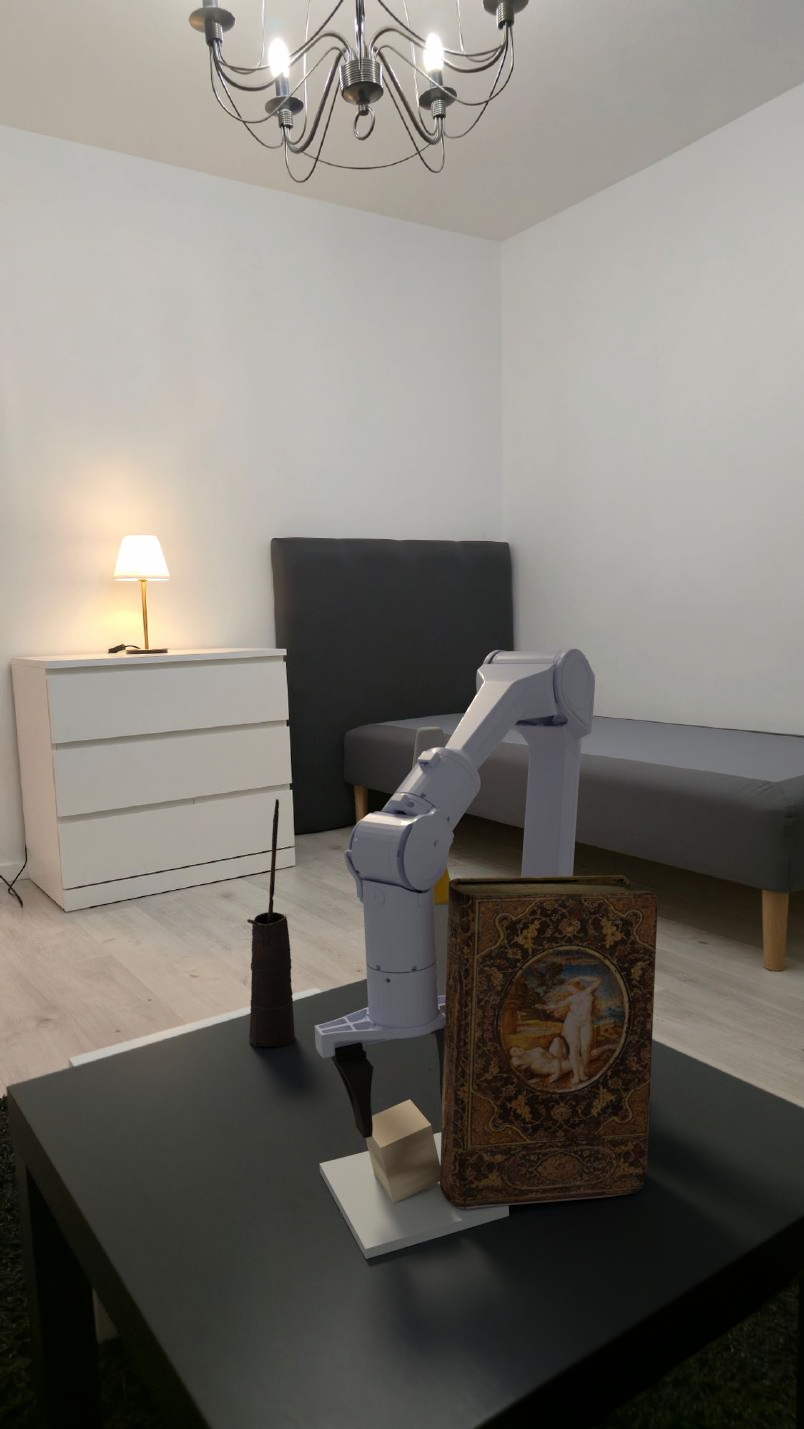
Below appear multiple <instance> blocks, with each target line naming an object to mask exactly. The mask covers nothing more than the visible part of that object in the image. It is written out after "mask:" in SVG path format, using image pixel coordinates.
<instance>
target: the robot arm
mask: <svg viewBox="0 0 804 1429" xmlns="http://www.w3.org/2000/svg"><path fill="white" fill-rule="evenodd" d="M475 679H476V680H475V683H476V693H475V696H474V698H473V700H472V701H471V703H470V705H469V706H468V707H467V710H466V711H465V713H464V715H463V716H462V718H461V719H460V721H459V723H458V725H457V726H456V728H455V729H454V731H453V733H452V735H451V736H450V738H449V740H448V742H447V743H445V744H446V746H445V748H444V747H437V748H432V749H429V750H427V751H424V752H423V753H422V754H421V755H420V757H419V758H418V759H417V764H416V765H415V766H414V768H413V769H411V771H410V772H409V773H408V775H407V776H406V777H405V778H404V780H403V781H402V782H401V783H400V785H399V786H398V788H397V789H396V790H395V792H394V793H393V795H392V796H391V797H390V798H389V800H388V801H387V803H386V804H385V805H384V807H383V808H382V809H381V811H373V812H369V813H368V814H367V815H365V816H364V817H363V818H361V819H360V820H358V822H357V823H356V824H355V825H354V826H353V828H352V830H351V832H350V835H349V840H348V844H347V850H345V851H344V852H343V853H344V860H345V865H346V868H347V870H348V872H349V873H350V876H352V877H353V879H354V881H355V885H356V897H357V898H358V899H359V902H361V904H363V906H362V907H363V921H364V922H363V923H364V924H363V925H364V927H363V928H364V943H365V944H364V946H365V949H364V950H365V964H366V987H367V1007H365V1008H362V1009H360V1010H359V1009H358V1010H356V1011H355V1012H351V1013H349V1014H346V1015H344V1016H342V1017H340V1018H337V1019H334V1020H330V1021H327V1022H324V1023H321V1024H317V1025H316V1024H315V1025H314V1040H315V1041H314V1042H315V1049H316V1051H317V1053H318V1054H319V1055H320V1057H321V1058H322V1059H327V1058H330V1059H331V1060H332V1063H333V1064H334V1066H335V1068H336V1069H337V1071H338V1075H339V1076H340V1078H341V1080H342V1082H343V1085H344V1087H345V1090H346V1093H347V1095H348V1098H349V1102H350V1105H351V1109H352V1112H353V1113H352V1114H353V1116H354V1121H355V1128H356V1129H357V1130H358V1131H359V1132H358V1133H360V1134H361V1137H362V1138H363V1139H366V1138H368V1137H372V1133H373V1122H372V1116H373V1111H372V1102H371V1100H372V1083H373V1074H374V1069H375V1068H374V1066H373V1064H372V1063H371V1062H370V1061H369V1060H368V1058H367V1051H365V1049H364V1046H368V1045H372V1044H377V1043H381V1042H386V1041H392V1040H396V1039H412V1038H417V1037H422V1036H425V1035H427V1034H430V1033H432V1032H434V1034H435V1040H436V1044H437V1053H438V1061H439V1092H440V1101H441V1103H442V1095H443V1062H444V1028H445V1026H446V1015H445V996H438V985H437V959H436V934H435V907H434V885H435V884H436V883H437V882H438V880H439V879H440V878H441V877H442V876H443V874H444V872H445V869H446V866H447V867H448V862H449V861H448V860H449V853H450V848H451V845H452V844H453V842H454V838H455V835H454V832H453V831H454V829H455V828H456V826H457V825H458V824H459V822H460V820H461V818H462V817H463V816H464V814H465V813H466V811H467V810H468V808H469V806H470V805H471V804H472V802H473V801H474V799H475V798H476V797H477V795H478V794H479V792H480V789H481V782H482V781H481V776H480V774H479V771H478V770H479V768H480V767H481V766H482V765H483V763H484V762H485V761H486V760H487V759H488V757H490V755H491V754H492V753H493V751H495V749H496V748H497V746H498V745H499V744H500V743H501V742H502V741H503V739H504V738H505V737H506V736H507V734H508V733H509V732H510V731H511V730H512V731H513V732H516V733H518V734H520V735H521V736H522V738H523V739H524V741H525V742H526V744H527V745H528V747H529V756H528V758H529V759H528V771H527V772H528V774H527V785H526V787H527V788H526V800H525V801H526V802H525V816H524V830H523V846H522V847H523V848H522V861H521V875H520V877H552V876H574V861H575V860H574V859H575V847H576V846H575V844H576V830H577V816H578V815H577V814H578V802H579V801H578V798H579V783H580V769H581V768H580V767H581V753H582V739H583V738H584V737H586V736H588V735H590V734H591V733H592V730H593V729H592V727H593V726H592V725H593V719H594V705H595V690H596V687H595V686H596V675H595V674H594V671H593V669H592V666H591V665H590V662H589V661H588V659H587V657H586V655H585V654H584V652H582V651H581V649H578V648H567V649H566V650H559V649H558V650H516V651H511V650H509V651H508V650H503V649H502V650H501V649H496V650H493V651H491V652H490V653H488V655H487V656H486V657H485V658H484V661H483V663H482V665H481V666H480V667H479V668H478V669H477V670H476V676H475Z"/></svg>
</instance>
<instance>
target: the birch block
mask: <svg viewBox="0 0 804 1429" xmlns="http://www.w3.org/2000/svg"><path fill="white" fill-rule="evenodd" d="M372 1122H373V1133H372V1137H368V1138H365V1141H366V1145H367V1151H369V1154H370V1159H371V1163H372V1167H373V1171H374V1174H375V1176H376V1177H377V1179H378V1180H379V1182H380V1184H381V1185H382V1187H383V1188H384V1190H385V1191H386V1193H387V1194H388V1196H389V1198H390V1199H391V1201H392V1202H393V1204H394V1203H396V1202H398V1201H400V1200H402V1199H404V1198H407V1197H409V1196H411V1195H413V1194H415V1193H417V1192H419V1191H421V1190H423V1189H425V1188H427V1187H429V1186H431V1185H434V1184H436V1183H438V1182H440V1178H441V1166H440V1162H439V1158H438V1153H437V1149H436V1144H435V1140H434V1135H433V1134H434V1130H433V1127H432V1124H431V1123H430V1122H429V1120H428V1119H427V1118H426V1117H425V1116H424V1115H423V1113H422V1112H421V1111H420V1109H419V1108H418V1107H417V1106H416V1105H415V1104H414V1102H413V1101H412V1100H411V1099H407V1100H405V1101H402V1102H400V1103H399V1104H398V1103H397V1104H396V1105H394V1106H391V1107H389V1108H387V1109H384V1110H382V1111H379V1112H377V1113H375V1114H374V1115H373V1114H372Z"/></svg>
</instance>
